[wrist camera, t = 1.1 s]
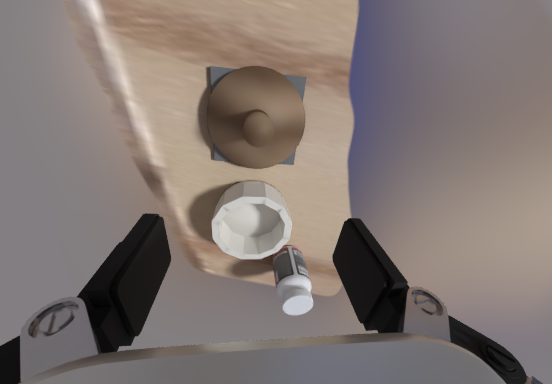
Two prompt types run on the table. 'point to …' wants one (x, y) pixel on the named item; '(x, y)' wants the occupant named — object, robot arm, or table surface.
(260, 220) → the bowl
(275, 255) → the pill bottle
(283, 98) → the lid
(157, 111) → the table surface
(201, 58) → the table surface
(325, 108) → the table surface
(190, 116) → the table surface
